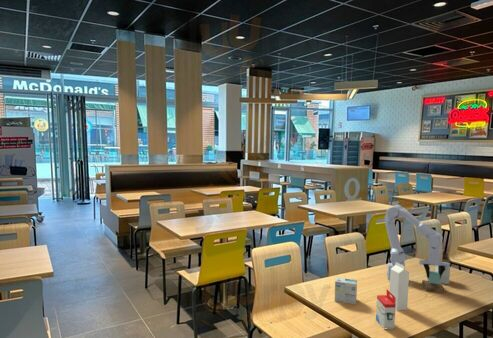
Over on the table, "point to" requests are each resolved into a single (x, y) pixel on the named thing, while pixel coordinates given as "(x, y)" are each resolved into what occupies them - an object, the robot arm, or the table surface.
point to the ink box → (386, 310)
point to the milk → (399, 286)
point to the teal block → (434, 277)
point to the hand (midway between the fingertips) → (433, 278)
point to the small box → (444, 275)
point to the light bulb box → (345, 290)
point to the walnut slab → (432, 287)
